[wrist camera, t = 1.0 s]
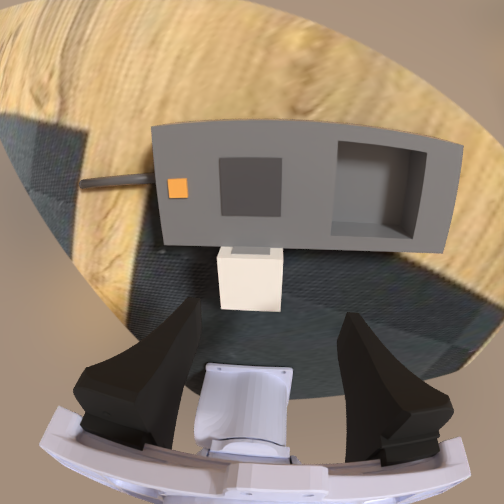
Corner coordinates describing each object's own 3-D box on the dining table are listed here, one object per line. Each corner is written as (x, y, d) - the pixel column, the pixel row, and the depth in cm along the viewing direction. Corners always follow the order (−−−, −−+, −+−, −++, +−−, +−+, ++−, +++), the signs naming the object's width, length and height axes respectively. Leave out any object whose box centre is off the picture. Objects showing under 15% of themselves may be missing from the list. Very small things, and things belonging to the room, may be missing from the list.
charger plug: (231, 270, 24) (221, 308, 19) (229, 225, 22) (216, 256, 17) (280, 272, 23) (280, 311, 19) (282, 226, 22) (283, 258, 17)
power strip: (90, 225, 23) (68, 244, 20) (76, 138, 19) (48, 146, 16) (423, 233, 21) (443, 254, 17) (438, 138, 17) (465, 146, 14)
